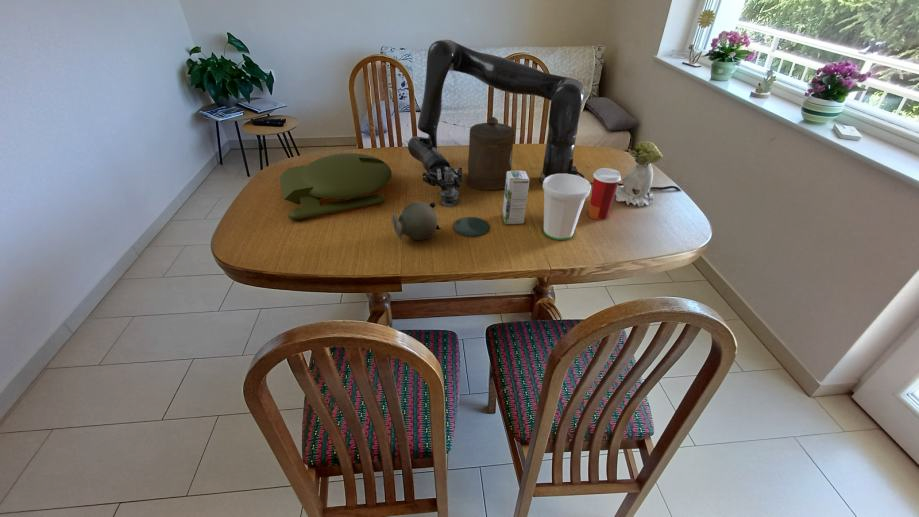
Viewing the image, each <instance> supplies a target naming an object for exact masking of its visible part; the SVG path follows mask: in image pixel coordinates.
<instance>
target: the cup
mask: <svg viewBox="0 0 919 517" xmlns="http://www.w3.org/2000/svg"><path fill="white" fill-rule="evenodd" d="M590 183H591V182H590V181H589V180H587V179H586V178H585V179H584V178H582V177H581V176H580V175H577V176H576V175H571V174H554V175H550V176H548V177H546V178H545V179H544V181H543V183H542V190H543V192H544V193H543V197H544V198H543V233H544V235H546V237H548V238H550V239H552V240H556V241H566V240H570V239H572V237H573V236H574V232H575V230H576V227H577V225H578V221H579V218H580V215H581V212H582V209H583V207H584V203H585V201H586V199H587V197H588V196H589V195H590V192H591V190H592V184H590Z"/></svg>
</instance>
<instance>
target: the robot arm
mask: <svg viewBox="0 0 919 517" xmlns="http://www.w3.org/2000/svg"><path fill="white" fill-rule="evenodd" d="M430 44H431V45H430V46H429V47H428V50H427V55H426V56H427V57H426V72H425V82H424V83H425V84H424V90H423V97H422V103H421V108H420V112H419V117H418V121H417V129H418V130H419V131H420V132H421V133H424V134H427V135H428V137H426V136H425V137H423V136H419V135H418V136H417V135H416V136H412V137H410V139H409V140H408V143H407V150H408V152H409V155H410V156H411V157H412V158H414V159H415V160H417V161H418V162H420V163H421V164H422V166H423V168H424V170H425V171H426V172H422V181H423V182H424V183H426V184H428V185H429V186H430V187H436V186H437V187H439V188H440V189H441V190H444V191H447V185H446V183H445V182H444V180H445V177H444V173H445V171H446V170H448V168H450V170H452V171H453V172H454V180H455V183H454V188H455V189H456V190H460V188H461V186H462V183H463V167H458V168H457V169H455V168H453V167H452V166H451V165H450V163H449V161H448V160H447V159H446V157H444V155H443V154H442V153H441V152H439V150H438V127H439V124H440V119H441V115H442V108H443V89H444V85H445V81H446V78H447V76H448V73H449V71H450V72H458V73H462V74H466V75H468V76H472V77H474V78H476V79H477V80H479V81H480V82H482V83H483V84H484V85H486V86H489V87H490V88H493V89H496V90H499V91H502V92H505V93H508V94H513V95H522V96H523V95H525V96H536V97H539V98H542V99H545V100H549V101H550V106H549V112H548V113H549V114H548V120H547V122H548V123H547V126H548V127H547V136H546V143H545V150H544V157H543V158H544V159H543V165H542V171H540V176H541V178H540V182H541V183H542V184H543V181H544V179H545V178H546V177H548V176H550V175H554V174H571V175H576V176H579V177H582V178H584V179H586V177H585V174H583V173H582V172H579V171H578V168H577V166H576V165H574V151H575V146H576V141H577V135H578V130H579V122H580V116H581V111H582V104H583V101H584V98H585V94H586V91H585V87H584V85H583V84H582V82H581V81H579V80H578V79H576V78H573V77H568V76H563V75H557V74H552V73H548V72H544V71H542V70H540V69H536V68H534V67H532V66H529V65H527V64H523V63H520V62H518V61H515V60H512V59H509V58H506V57H502V56H498V55H494V54H490V53H484V52H481V51H476V50H474V49H471V48H468V47H466V46H464V45H462V44H459V43H457V42H456V41H454V40H451V39H439V40H436V41H434V42H432V43H430ZM589 183H590V185H593V182H589ZM618 186H624V185H623V184H622V182H619V184H618ZM669 189H674V190H676V191H678V192H681V188H680V187H679V186H676V185H668V186H651V187H650V189H649V190H660V191H661V190H662V191H663V190H669Z"/></svg>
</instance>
